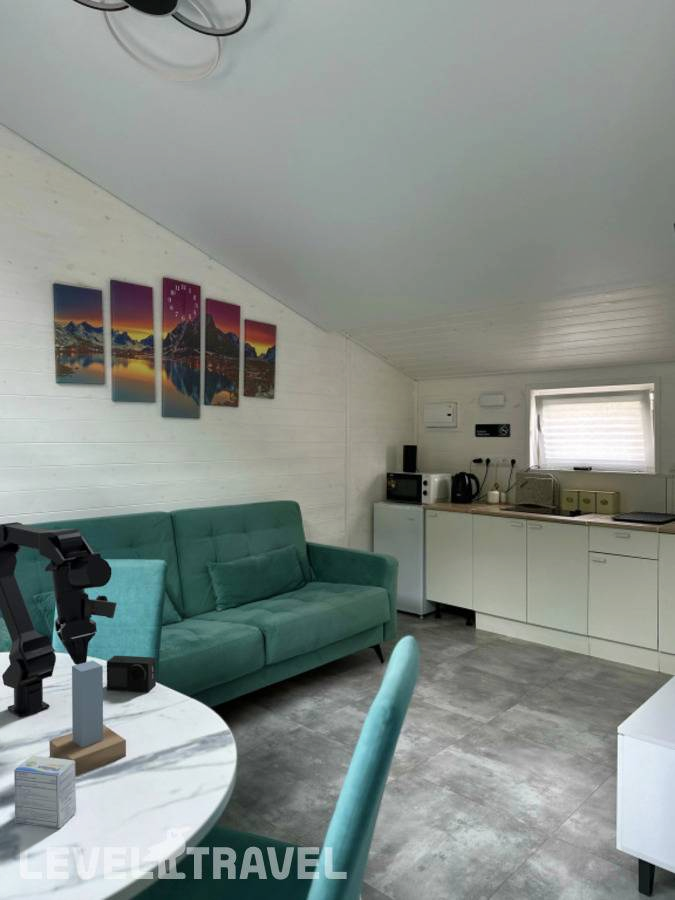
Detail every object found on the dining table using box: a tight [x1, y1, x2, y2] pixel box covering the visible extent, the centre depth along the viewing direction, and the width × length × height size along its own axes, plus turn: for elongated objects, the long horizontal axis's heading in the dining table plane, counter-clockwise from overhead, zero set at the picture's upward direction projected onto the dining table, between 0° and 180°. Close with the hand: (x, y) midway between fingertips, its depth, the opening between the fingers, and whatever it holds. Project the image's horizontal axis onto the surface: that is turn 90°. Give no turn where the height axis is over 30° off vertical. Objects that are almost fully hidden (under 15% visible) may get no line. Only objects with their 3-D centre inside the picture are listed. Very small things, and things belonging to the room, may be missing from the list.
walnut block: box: [49, 724, 127, 777], centre depth 119 cm, size 10×10×3 cm
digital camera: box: [106, 655, 157, 693], centre depth 150 cm, size 10×5×7 cm, turn 83°
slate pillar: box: [71, 660, 104, 748], centre depth 118 cm, size 4×4×14 cm
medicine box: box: [13, 755, 77, 829], centre depth 99 cm, size 8×4×9 cm, turn 79°
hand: (80, 666), depth 130 cm, fingers open, 9 cm apart
